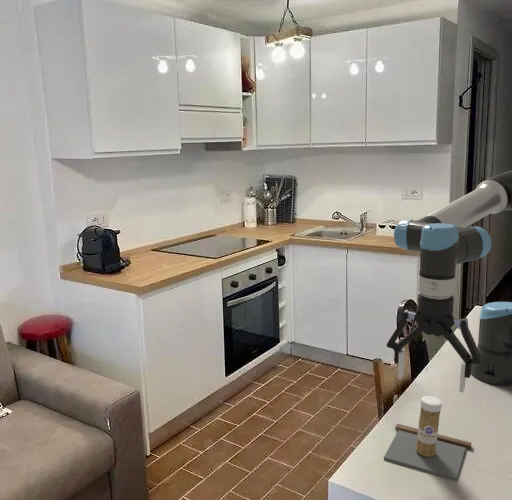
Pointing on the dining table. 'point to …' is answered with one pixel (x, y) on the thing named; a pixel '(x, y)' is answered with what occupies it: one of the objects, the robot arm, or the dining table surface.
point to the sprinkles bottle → (428, 426)
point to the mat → (439, 464)
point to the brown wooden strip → (439, 437)
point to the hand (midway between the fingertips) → (430, 383)
